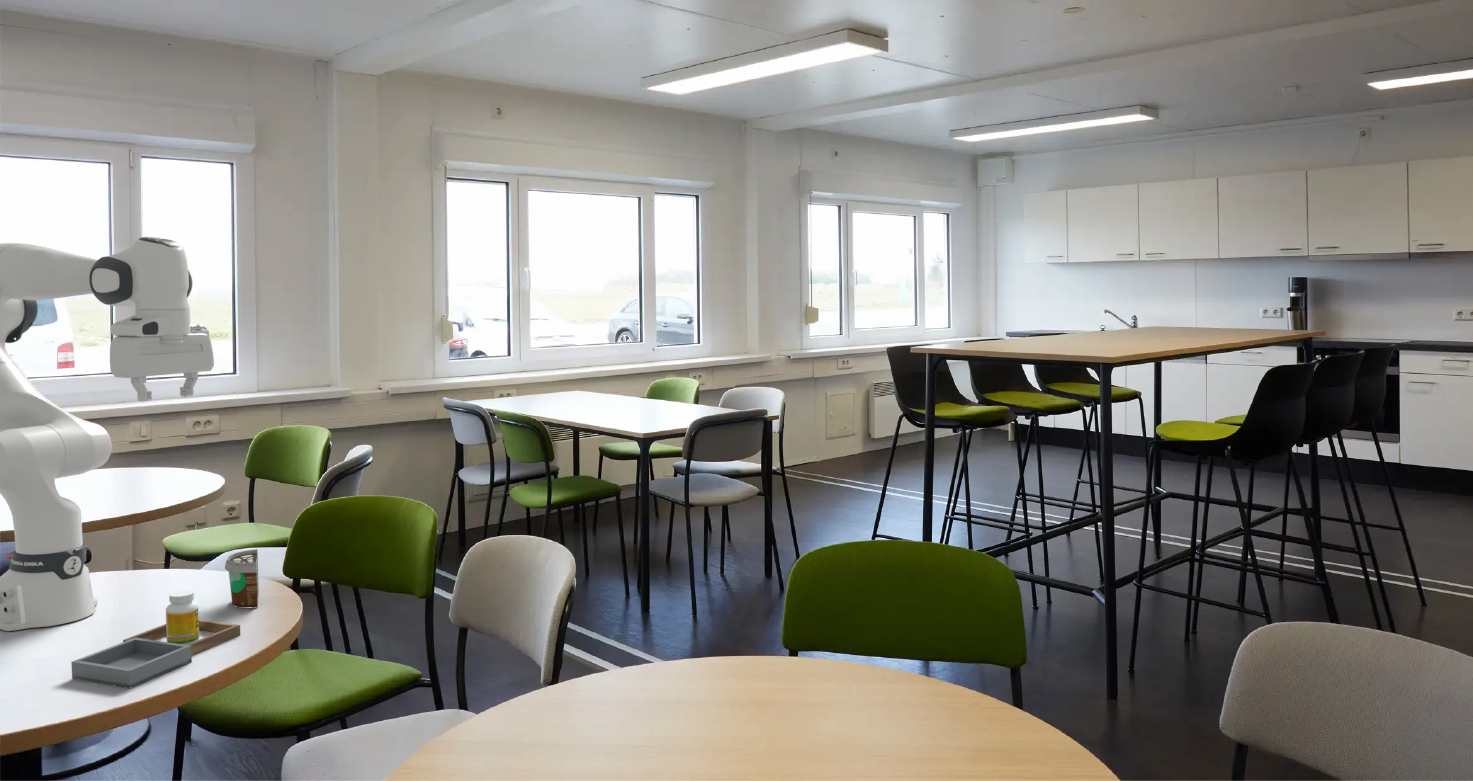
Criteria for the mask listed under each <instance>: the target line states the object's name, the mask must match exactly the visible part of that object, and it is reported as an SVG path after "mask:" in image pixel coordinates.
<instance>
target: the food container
mask: <svg viewBox="0 0 1473 781" xmlns="http://www.w3.org/2000/svg"><path fill="white" fill-rule="evenodd" d="M258 554H259V553H258V549H256V548H255V549H248V550H242V551H237V552H234V553H232V554H230V555H229V556H227V559H226V561H225V564H224V570H226V571H227V572H228V577H229V578H228V580H229V586H230V595H231V597H230V598H231V605H232V604H233V605H235V606H237V607H236V608H239V607H258V608H259V597H260V596H259V595H260V594H259V592H260V591H259V564H258V563H259V561H258V560H259V558H258V557H259V556H258ZM233 605H232V606H233ZM235 606H234V607H235Z"/></svg>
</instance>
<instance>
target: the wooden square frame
mask: <svg viewBox="0 0 1473 781" xmlns="http://www.w3.org/2000/svg"><path fill="white" fill-rule="evenodd" d="M199 632H204V633H212V634H209V635H207V636H204V637H203V638H201V639H200V638H199V640H197V641H195V642H193V643H190V644H188V645H190V646H191V654H192V656H195V655H197V654H199V653H201V652H203V651H205V650H209V649H211V648H213V647H215V646H218V645H220V644H222V643H224V642H228V641H230V640H232V639H235V638H236V637H239V636H241V625H240V624H238V623H237V624H235V623H227V622H221V621H220V622H219V621H215V620H214V621H213V620H208V619H207V620H206V619H201V618H199ZM164 637H167V633H166V623H165V624H162V625H159V626H157V627H154V628H150V629H149V630H146V631H143V632H140V633H138V634H135V635H132V636H129V637H127V638H124V639H123V640H122V643H123V642H125V641H128V640H131V639H133V638H142V639H149V640H156V641H158V640H159V639H161V638H164Z"/></svg>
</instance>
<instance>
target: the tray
mask: <svg viewBox="0 0 1473 781" xmlns="http://www.w3.org/2000/svg"><path fill="white" fill-rule="evenodd" d="M192 656H193V655H192V654H191V646H190V645H183V644H176V643H169V642H167V641H162V640H149V639H142V638H133V639H131V640H128V641H125V642H123V641H122V642H120V643H117V644H114V645H112V646H110V647H107V648H105V649H102V650H99V651H96V652H94V653H91V654H88V655H86V656H83V657H80V658H78V659H75V660H72V661H71V680H77V681H82V682H89V683H94V682H95V683H94V684H100V683H103V684H102V685H106V684H107V686H112V685H115V686H114V687H118V686H119V687H120V688H124V687H127V688H126V689H132V688H135V687H137V686H139V685H141V683H142V684H144V683H147V682H148V681H151V680H154V679H155V678H159V677H160V676H162V675H164V674H167V673H170V672H172V671H174V670H176V669H178V668H181V667H183V666H185V665H188V664H191V663H192V662H193V661H192V660H193V659H192ZM136 685H137V686H136ZM134 686H135V687H134ZM131 687H132V688H131Z"/></svg>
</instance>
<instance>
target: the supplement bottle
mask: <svg viewBox="0 0 1473 781" xmlns="http://www.w3.org/2000/svg"><path fill="white" fill-rule="evenodd" d="M194 599H195V592H194V591H193V590H190V589H187V590H186V589H185V590H183V589H182V590H178V591H173V592H171V593H169V600H168V601H169V603H170V604H168V605H167V606H166V608H165V624H166V633H167V636H166V642H169V643H176V644H183V645H188V644H190V643H193V642H195V641H197V640H200V631H199V619H200V616H199V604H198V602H196V601H195V600H194ZM193 600H194V601H193Z"/></svg>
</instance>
